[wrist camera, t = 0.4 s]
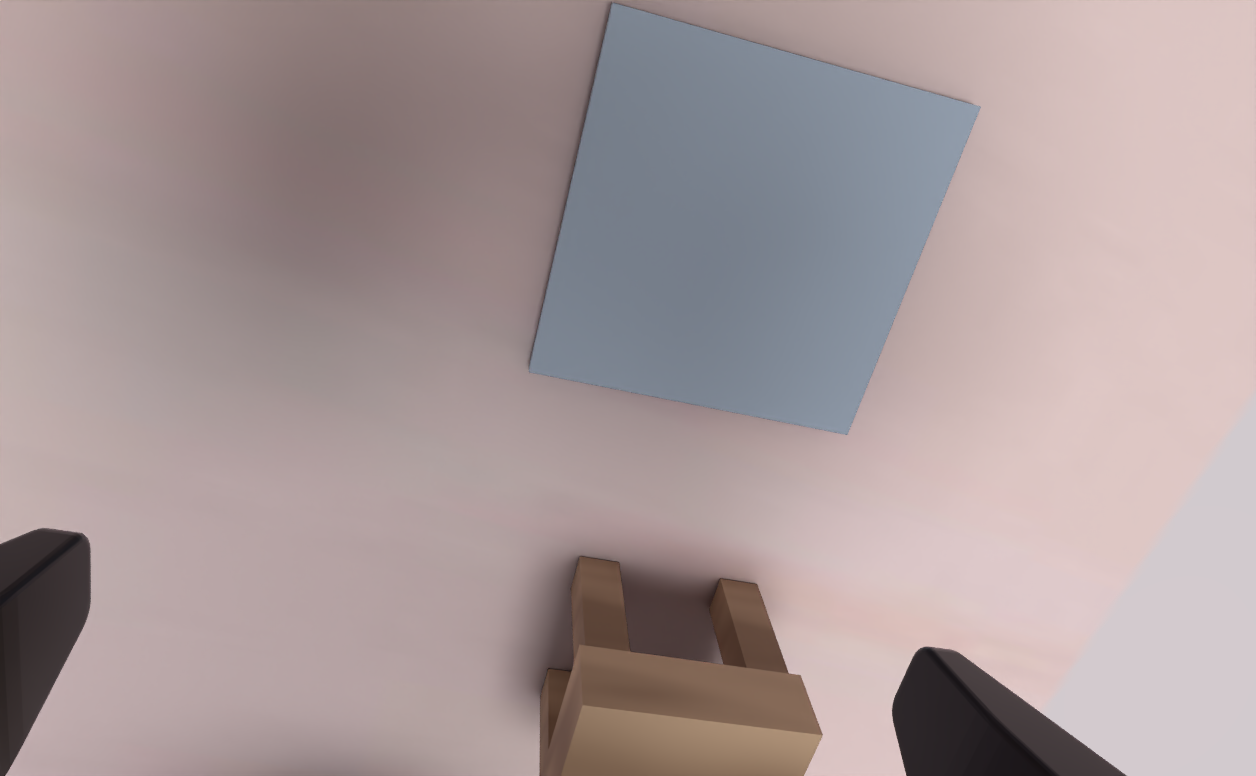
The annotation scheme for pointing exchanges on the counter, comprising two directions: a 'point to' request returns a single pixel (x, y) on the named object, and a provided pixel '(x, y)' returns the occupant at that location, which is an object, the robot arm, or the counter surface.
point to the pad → (741, 223)
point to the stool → (673, 695)
